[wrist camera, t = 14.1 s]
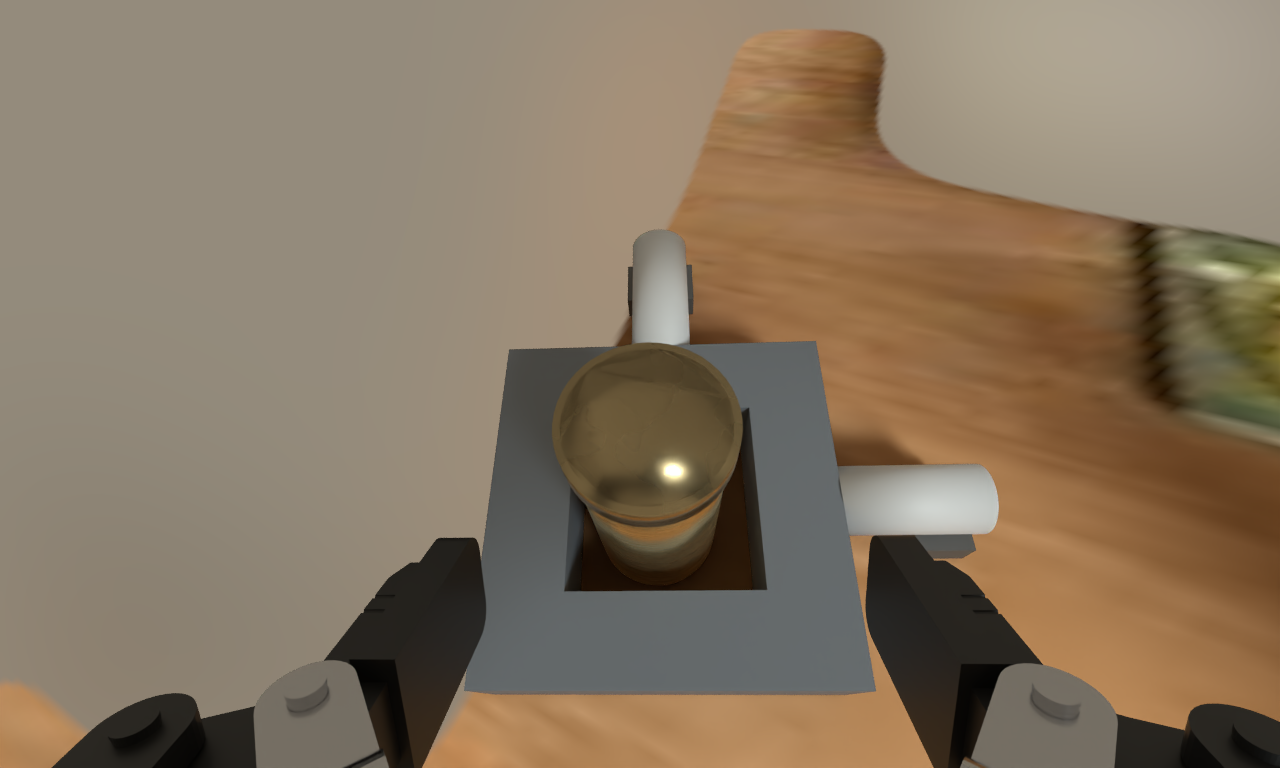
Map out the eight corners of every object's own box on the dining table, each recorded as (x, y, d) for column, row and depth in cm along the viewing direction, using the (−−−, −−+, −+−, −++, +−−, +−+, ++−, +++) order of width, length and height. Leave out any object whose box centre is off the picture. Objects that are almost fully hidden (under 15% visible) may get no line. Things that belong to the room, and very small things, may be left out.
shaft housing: (887, 274, 29) (913, 220, 25) (997, 695, 20) (1058, 691, 17) (539, 285, 29) (523, 234, 26) (495, 694, 21) (463, 690, 17)
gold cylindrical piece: (715, 468, 24) (735, 339, 16) (723, 591, 22) (750, 514, 14) (598, 470, 24) (559, 344, 16) (594, 591, 22) (544, 516, 14)
